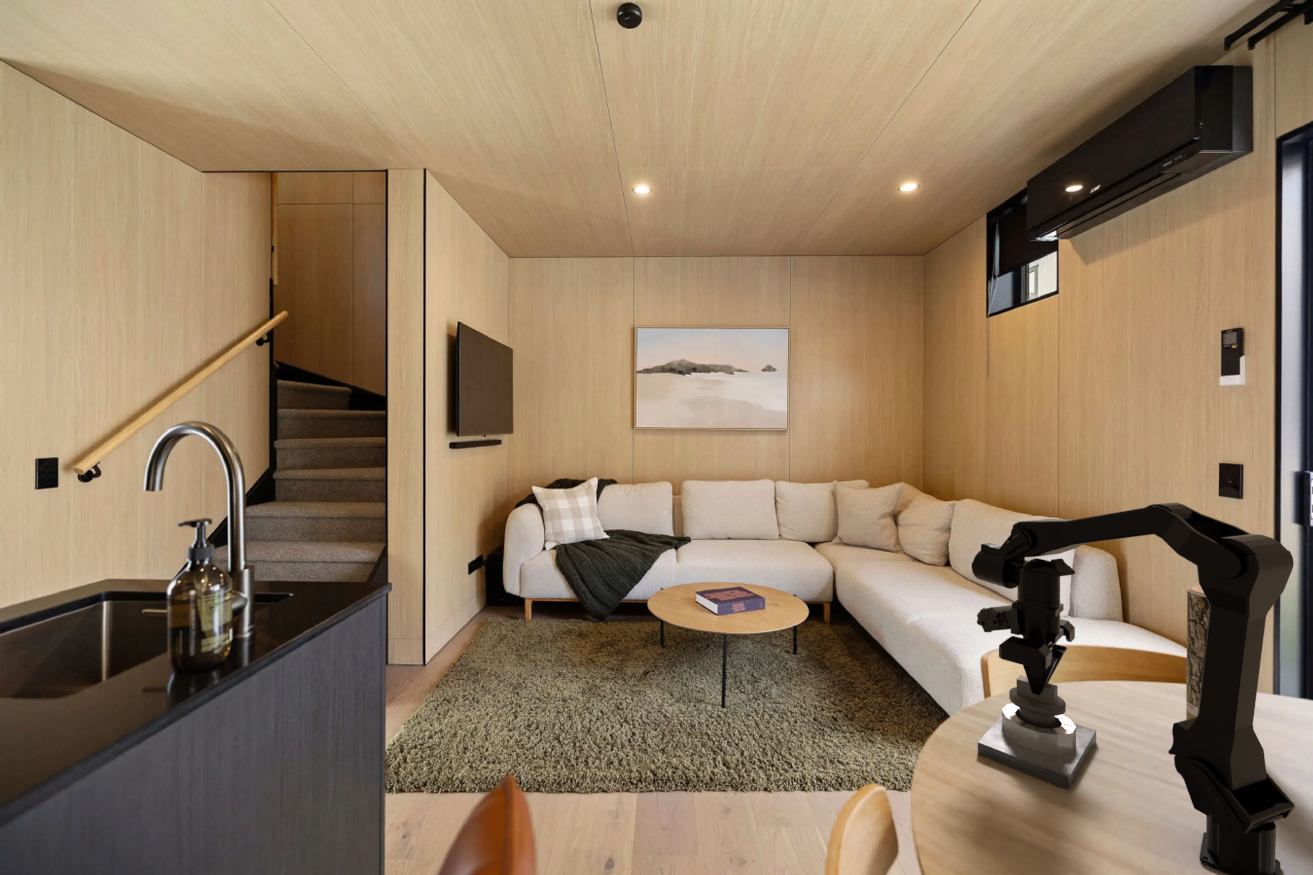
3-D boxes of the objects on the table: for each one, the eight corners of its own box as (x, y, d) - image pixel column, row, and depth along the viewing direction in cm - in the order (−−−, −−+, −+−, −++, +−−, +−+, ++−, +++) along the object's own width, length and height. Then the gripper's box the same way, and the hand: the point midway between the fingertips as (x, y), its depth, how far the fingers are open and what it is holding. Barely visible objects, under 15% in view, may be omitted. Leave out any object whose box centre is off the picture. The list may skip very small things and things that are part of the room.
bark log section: (1195, 745, 90) (1196, 594, 90) (1179, 724, 96) (1180, 583, 96) (1252, 756, 87) (1254, 599, 86) (1232, 734, 93) (1234, 588, 92)
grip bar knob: (1058, 738, 85) (1058, 698, 84) (1002, 719, 90) (1002, 681, 90) (1071, 720, 90) (1071, 682, 89) (1017, 703, 95) (1017, 667, 95)
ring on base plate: (1068, 790, 79) (1068, 756, 79) (977, 754, 88) (977, 723, 88) (1096, 741, 91) (1096, 712, 91) (1013, 714, 100) (1013, 687, 100)
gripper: (1001, 576, 102) (1001, 659, 102) (963, 598, 89) (963, 693, 90) (1075, 588, 93) (1075, 679, 94) (1044, 615, 81) (1044, 719, 81)
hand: (1038, 691), depth 90 cm, fingers closed on grip bar knob
